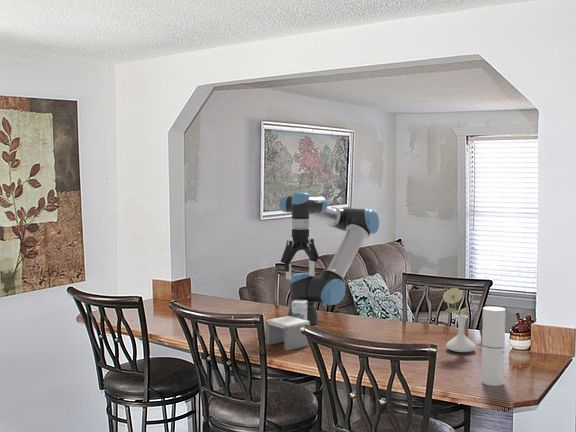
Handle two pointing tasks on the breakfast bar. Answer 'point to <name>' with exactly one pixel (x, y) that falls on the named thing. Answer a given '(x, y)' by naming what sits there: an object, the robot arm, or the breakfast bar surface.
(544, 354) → the breakfast bar surface
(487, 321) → the cylindrical container
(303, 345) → the low shelf
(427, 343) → the breakfast bar surface
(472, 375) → the breakfast bar surface
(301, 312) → the syrup box
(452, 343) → the flower in vase
